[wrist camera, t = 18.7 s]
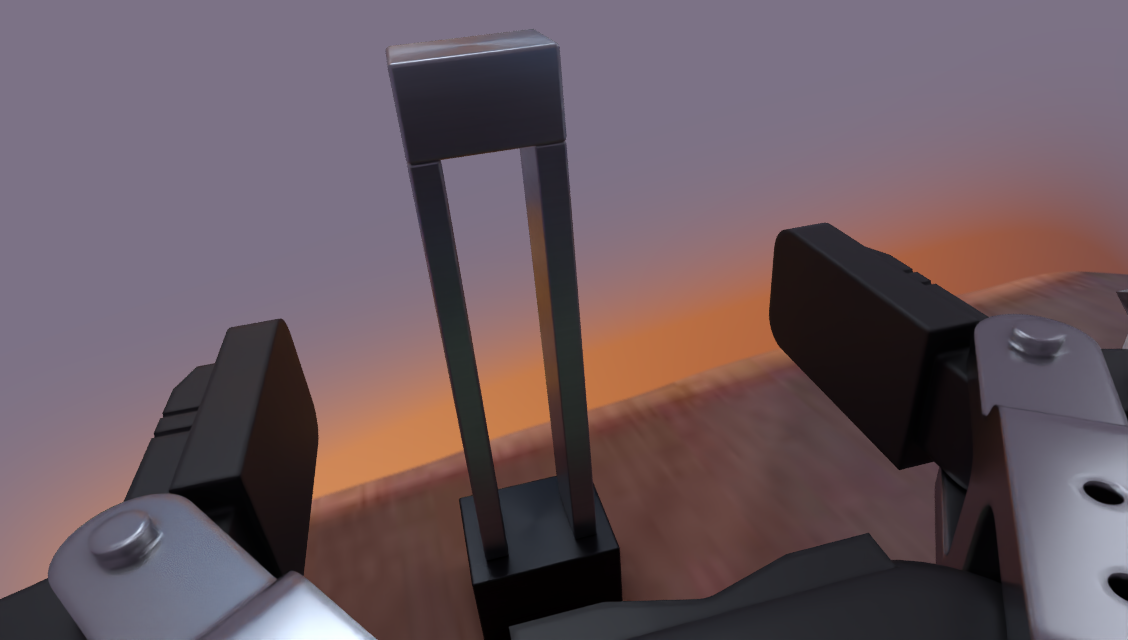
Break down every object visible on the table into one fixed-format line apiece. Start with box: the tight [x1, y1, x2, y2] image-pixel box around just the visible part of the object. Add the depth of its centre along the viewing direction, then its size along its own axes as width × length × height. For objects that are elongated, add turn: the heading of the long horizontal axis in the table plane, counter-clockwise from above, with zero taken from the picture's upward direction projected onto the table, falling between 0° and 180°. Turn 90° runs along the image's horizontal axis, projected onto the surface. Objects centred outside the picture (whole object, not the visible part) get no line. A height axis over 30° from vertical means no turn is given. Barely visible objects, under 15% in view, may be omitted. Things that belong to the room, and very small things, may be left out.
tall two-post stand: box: [386, 29, 623, 640], centre depth 19 cm, size 4×4×17 cm
